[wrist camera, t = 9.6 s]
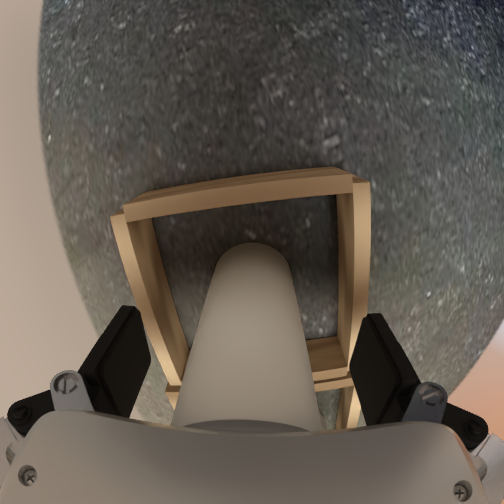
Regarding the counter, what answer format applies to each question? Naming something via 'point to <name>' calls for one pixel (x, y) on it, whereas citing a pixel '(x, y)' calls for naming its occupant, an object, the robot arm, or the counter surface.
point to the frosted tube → (249, 351)
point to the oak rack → (243, 192)
